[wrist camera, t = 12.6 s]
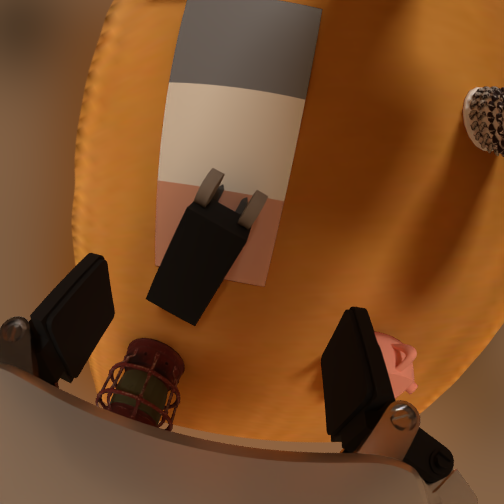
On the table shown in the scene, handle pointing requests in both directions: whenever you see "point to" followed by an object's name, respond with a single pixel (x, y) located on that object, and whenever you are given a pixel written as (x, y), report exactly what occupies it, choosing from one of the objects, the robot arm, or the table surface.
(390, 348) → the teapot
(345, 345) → the robot arm
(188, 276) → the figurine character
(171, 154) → the game board
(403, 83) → the table surface
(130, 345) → the lantern
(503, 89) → the decorative candle
